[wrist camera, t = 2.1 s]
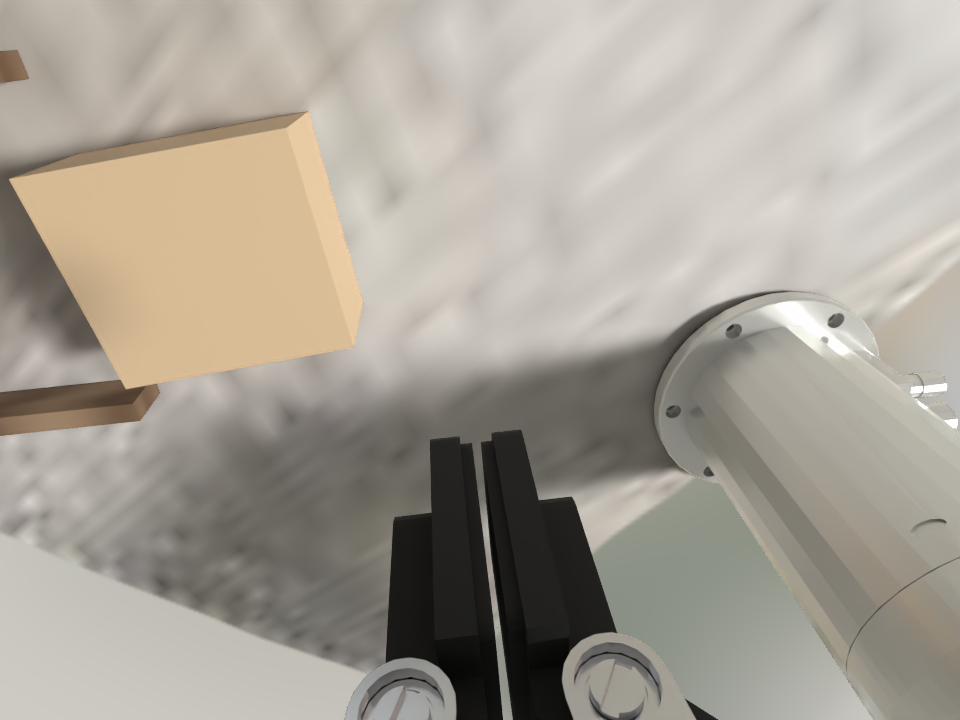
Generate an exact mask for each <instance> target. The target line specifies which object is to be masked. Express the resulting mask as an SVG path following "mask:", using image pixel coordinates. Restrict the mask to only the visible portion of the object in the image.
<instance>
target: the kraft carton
mask: <svg viewBox="0 0 960 720" xmlns="http://www.w3.org/2000/svg"><path fill="white" fill-rule="evenodd" d="M9 181H10V182H11V184H12V186H13V188H14V190H15V191H16V193H17V195H18V197H19V199H20V200H21V202H22V204H23V206H24V208H25V209H26V211H27V213H28V215H29V216H30V218H31V220H32V222H33V224H34V225H35V227H36V229H37V231H38V233H39V234H40V236H41V238H42V240H43V242H44V243H45V245H46V247H47V249H48V251H49V252H50V254H51V256H52V258H53V259H54V261H55V263H56V265H57V267H58V268H59V270H60V272H61V274H62V276H63V277H64V279H65V281H66V283H67V285H68V286H69V288H70V290H71V292H72V294H73V295H74V297H75V299H76V301H77V302H78V304H79V306H80V308H81V310H82V311H83V313H84V315H85V317H86V319H87V320H88V322H89V324H90V326H91V328H92V329H93V331H94V333H95V335H96V337H97V338H98V340H99V342H100V344H101V345H102V347H103V349H104V351H105V353H106V354H107V356H108V358H109V360H110V362H111V363H112V365H113V367H114V369H115V371H116V372H117V374H118V376H119V378H120V380H121V381H122V383H123V385H124V387H125V388H126V389H130V388H135V387H141V386H146V385H152V384H157V383H163V382H168V381H174V380H179V379H184V378H190V377H195V376H201V375H206V374H212V373H217V372H223V371H228V370H233V369H239V368H244V367H250V366H255V365H261V364H266V363H272V362H277V361H283V360H288V359H293V358H299V357H304V356H310V355H315V354H321V353H326V352H332V351H337V350H343V349H348V348H353V347H354V345H355V340H356V335H357V330H358V326H359V321H360V316H361V311H362V307H363V300H362V296H361V293H360V289H359V286H358V282H357V279H356V275H355V272H354V268H353V265H352V261H351V258H350V254H349V251H348V247H347V244H346V240H345V237H344V233H343V230H342V226H341V223H340V219H339V216H338V212H337V209H336V205H335V202H334V198H333V195H332V192H331V188H330V185H329V181H328V178H327V174H326V171H325V167H324V164H323V160H322V157H321V153H320V150H319V146H318V143H317V139H316V136H315V132H314V129H313V125H312V122H311V118H310V115H309V111H308V112H302V113H297V114H292V115H286V116H281V117H275V118H270V119H264V120H259V121H254V122H248V123H243V124H237V125H232V126H226V127H221V128H216V129H210V130H205V131H199V132H194V133H188V134H183V135H178V136H172V137H167V138H161V139H156V140H150V141H145V142H140V143H134V144H129V145H123V146H118V147H112V148H107V149H102V150H96V151H91V152H85V153H80V154H76V155H73V156H70V157H68V158H65V159H62V160H59V161H57V162H54V163H51V164H48V165H46V166H43V167H40V168H38V169H35V170H32V171H29V172H27V173H24V174H21V175H18V176H16V177H13V178H10V179H9Z"/></svg>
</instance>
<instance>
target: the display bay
mask: <svg viewBox="0 0 960 720" xmlns="http://www.w3.org/2000/svg"><path fill="white" fill-rule="evenodd" d="M23 79H29V77H28V75H27V72H26V70H25V68H24V65H23V63H22V60H21V58H20V56H19V53H18V51H17V50H14V51H0V83H1V82H8V81H16V80H23ZM159 394H160V392H159V389H158V387H157V384H152V385H146V386H141V387H135V388H130V389H126V388H125V387H124V385H123V383H122V381H121V380H119V381H109V382H100V383H90V384H80V385H71V386H61V387H52V388H42V389H32V390H23V391H13V392H4V393H0V436H3V435H12V434H22V433H31V432H40V431H50V430H59V429H68V428H78V427H87V426H96V425H106V424H115V423H124V422H134V421H140V420H141V419H142V418H143V416H144V415H145V413H146V412H147V411H148V409H149V408H150V406H151V405H152V404H153V402H154V401H155V399H156V398H157V397H158V395H159Z"/></svg>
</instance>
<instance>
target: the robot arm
mask: <svg viewBox="0 0 960 720" xmlns="http://www.w3.org/2000/svg"><path fill="white" fill-rule="evenodd" d="M946 388H947V382H946V379H945V377H944V376H943V375H942V374H941V373H940V372H937V371H928V372H918V373H911V374H908V375H900V374H899V373H897V372H896V371H895V370H894V369H892V368H891V367H889V366H888V365H887V364H885V363H884V362H883V361H881V360H880V359H879V349H878V346H877V344H876V341H875V338H874V335H873V333H872V332H871V330H870V329H869V327H868V326H867V325H866V323H865V322H864V321H863V320H862V319H861V318H860V317H859V316H857V315H856V314H855V313H854V312H852V311H851V310H850V309H848V308H846V307H845V306H843V305H841V304H840V303H838V302H836V301H835V300H833V299H831V298H827V297H824V296H821V295H817V294H814V293H804V292H783V293H774V294H768V295H764V296H761V297H757V298H753V299H750V300H747V301H744V302H742V303H740V304H738V305H736V306H733V307H731V308H729V309H727V310H725V311H723V312H722V313H720V314H719V315H717V316H715V317H714V318H712V319H711V320H709V321H708V322H706V323H705V324H704V325H702V326H701V327H700V328H699V329H698V330H697V331H696V332H694V333H693V334H692V335H691V336H690V337H689V338H688V339H687V340H686V341H685V342H684V343H683V345H682V346H681V347H680V348H679V349H678V351H677V352H676V353H675V354H674V355H673V357H672V359H671V360H670V362H669V364H668V365H667V367H666V369H665V370H664V372H663V374H662V377H661V380H660V382H659V385H658V388H657V391H656V396H655V403H654V419H655V426H656V429H657V432H658V435H659V438H660V440H661V442H662V444H663V445H664V447H665V449H666V451H667V452H668V454H669V455H670V457H671V458H672V459H673V460H674V461H675V462H676V463H677V465H678V466H680V467H681V468H682V469H684V470H685V471H687V472H688V473H690V474H691V475H693V476H695V477H698V478H700V479H702V480H705V481H710V482H715V483H720V484H721V486H722V487H723V489H724V490H725V492H726V494H727V495H728V497H729V498H730V500H731V501H732V503H733V504H734V506H735V507H736V509H737V510H738V512H739V514H740V515H741V517H742V518H743V520H744V521H745V523H746V524H747V526H748V527H749V529H750V530H751V532H752V534H753V535H754V536H755V538H756V540H757V541H758V543H759V544H760V546H761V548H762V549H763V550H764V552H765V553H766V555H767V557H768V558H769V560H770V561H771V563H772V564H773V566H774V567H775V569H776V571H777V572H778V574H779V575H780V577H781V578H782V580H783V581H784V583H785V584H786V586H787V588H788V589H789V591H790V592H791V594H792V595H793V597H794V598H795V600H796V601H797V603H798V604H799V606H800V608H801V609H802V611H803V612H804V614H805V615H806V617H807V618H808V620H809V621H810V623H811V625H812V626H813V628H814V629H815V631H816V632H817V634H818V635H819V637H820V638H821V640H822V641H823V643H824V644H825V646H826V648H827V649H828V651H829V652H830V654H831V655H832V657H833V659H834V660H835V661H836V663H837V665H838V666H839V668H840V669H841V671H842V672H843V674H844V675H845V677H846V679H847V680H848V682H849V683H850V684H851V686H852V688H853V689H854V691H855V693H856V694H857V696H858V697H859V699H860V700H861V702H862V703H863V705H864V706H865V708H866V709H867V711H868V712H869V714H870V715H871V717H872V718H873V720H960V432H958V430H956V428H957V418H956V415H955V413H954V411H953V409H952V408H951V407H950V406H949V405H948V404H945V403H943V402H936V403H927V404H922V403H921V402H919V401H918V400H917V399H916V398H925V397H934V396H940V395H943V394H944V392H945V391H946ZM481 448H482V459H483V470H484V482H485V493H486V504H487V515H488V526H489V538H490V548H491V557H492V565H493V573H494V580H495V588H496V595H497V603H498V610H499V618H500V626H501V633H502V641H503V648H504V656H505V663H506V671H507V678H508V686H509V693H510V701H511V708H512V716H513V720H718V719H716V718H714V717H713V716H711V715H709V714H708V713H707V712H705V711H703V710H702V709H700V708H699V707H697V706H696V705H694V704H692V703H690V702H689V701H688V700H686V699H685V698H684V696H683V695H682V693H681V691H680V689H679V687H678V686H677V684H676V682H675V680H674V678H673V677H672V675H671V673H670V671H669V669H668V667H667V666H666V665H665V663H664V662H663V661H662V659H661V658H660V657H659V655H658V654H657V653H656V652H655V651H654V650H652V649H651V648H650V647H649V646H647V645H646V644H645V643H644V642H642V641H640V640H638V639H635V638H633V637H631V636H629V635H625V634H619V633H617V632H616V628H615V625H614V622H613V619H612V616H611V613H610V610H609V607H608V603H607V601H606V597H605V594H604V591H603V588H602V585H601V582H600V579H599V575H598V572H597V569H596V566H595V563H594V561H593V557H592V554H591V551H590V547H589V544H588V541H587V538H586V535H585V532H584V529H583V526H582V523H581V520H580V516H579V513H578V510H577V507H576V504H575V502H574V500H573V498H572V497H564V498H555V499H547V500H539V499H538V495H537V491H536V487H535V483H534V479H533V475H532V471H531V467H530V463H529V459H528V455H527V451H526V447H525V443H524V439H523V435H522V431H521V430H513V431H504V432H495V433H492V441H486V442H481ZM430 462H431V507H432V513H427V514H418V515H410V516H401V517H395V518H394V523H393V537H392V555H391V574H390V592H389V610H388V628H387V646H386V663H385V664H383V665H381V666H378V667H377V668H376V669H375V670H373V671H372V672H371V673H370V674H368V675H367V676H366V677H365V678H364V679H363V680H362V682H361V683H360V684H359V686H358V687H357V688H356V690H355V691H354V692H353V695H352V697H351V700H350V702H349V705H348V707H347V710H346V714H345V718H344V720H503V715H502V705H501V693H500V683H499V673H498V662H497V651H496V640H495V631H494V622H493V613H492V605H491V597H490V588H489V580H488V572H487V564H486V556H485V547H484V539H483V531H482V523H481V515H480V506H479V498H478V490H477V482H476V474H475V465H474V457H473V449H472V443H468V444H460V437H450V438H441V439H432V440H430Z"/></svg>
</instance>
